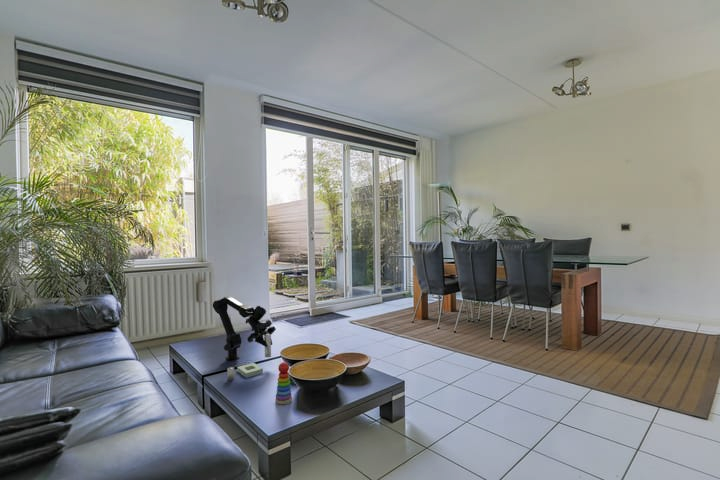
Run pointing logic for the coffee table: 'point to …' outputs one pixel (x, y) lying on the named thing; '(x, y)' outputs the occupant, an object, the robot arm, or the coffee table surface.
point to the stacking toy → (283, 385)
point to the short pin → (230, 373)
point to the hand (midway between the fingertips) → (269, 345)
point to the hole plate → (250, 370)
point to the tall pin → (268, 345)
